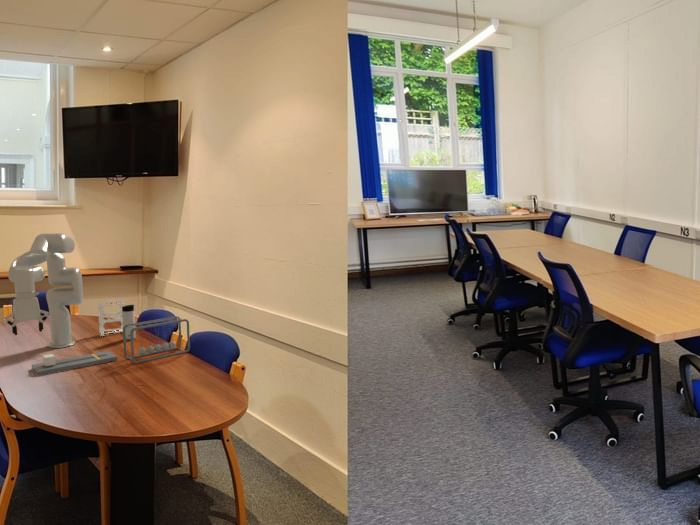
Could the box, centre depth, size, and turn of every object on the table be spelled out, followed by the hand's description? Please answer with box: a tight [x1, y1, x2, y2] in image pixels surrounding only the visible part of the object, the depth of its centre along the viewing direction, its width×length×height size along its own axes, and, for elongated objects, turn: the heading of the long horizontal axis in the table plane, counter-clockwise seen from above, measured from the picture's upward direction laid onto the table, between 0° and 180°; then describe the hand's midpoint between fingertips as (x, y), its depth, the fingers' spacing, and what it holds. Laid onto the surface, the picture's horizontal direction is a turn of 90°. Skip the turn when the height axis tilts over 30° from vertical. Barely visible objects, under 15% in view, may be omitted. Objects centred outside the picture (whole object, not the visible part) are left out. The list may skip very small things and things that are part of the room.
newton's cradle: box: [122, 315, 191, 365], centre depth 255 cm, size 30×10×18 cm, turn 135°
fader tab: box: [42, 353, 56, 366], centre depth 234 cm, size 5×4×4 cm
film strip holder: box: [97, 299, 126, 337], centre depth 300 cm, size 14×14×20 cm
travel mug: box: [122, 304, 137, 342], centre depth 286 cm, size 6×7×20 cm
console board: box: [31, 350, 118, 377], centre depth 242 cm, size 13×34×2 cm, turn 132°
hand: (28, 332), depth 228 cm, fingers open, 9 cm apart
